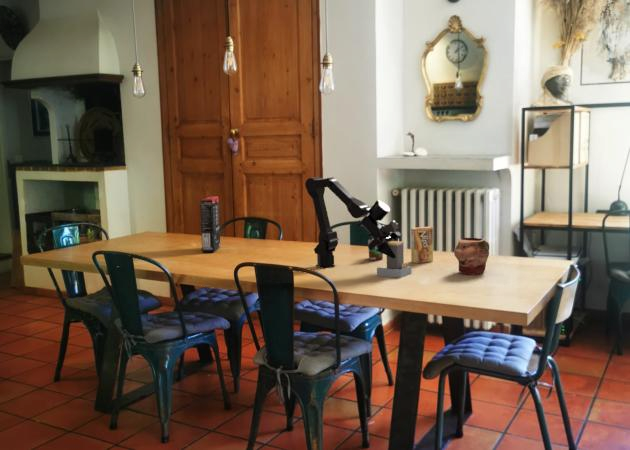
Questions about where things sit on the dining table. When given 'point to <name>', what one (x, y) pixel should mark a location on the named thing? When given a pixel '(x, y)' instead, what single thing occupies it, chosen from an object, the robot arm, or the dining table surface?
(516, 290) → the dining table surface
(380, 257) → the food container
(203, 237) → the graphics card box
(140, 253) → the dining table surface
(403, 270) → the header shroud
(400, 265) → the plug block
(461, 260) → the decorative planter
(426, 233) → the candy box
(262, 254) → the dining table surface
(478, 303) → the dining table surface
